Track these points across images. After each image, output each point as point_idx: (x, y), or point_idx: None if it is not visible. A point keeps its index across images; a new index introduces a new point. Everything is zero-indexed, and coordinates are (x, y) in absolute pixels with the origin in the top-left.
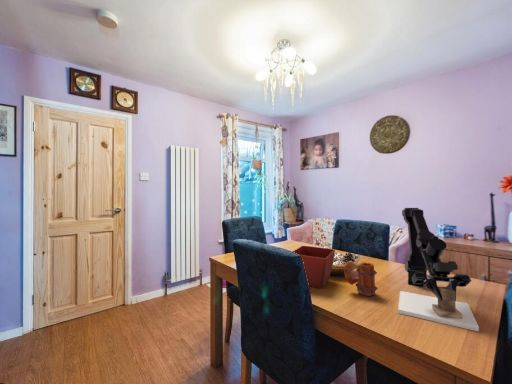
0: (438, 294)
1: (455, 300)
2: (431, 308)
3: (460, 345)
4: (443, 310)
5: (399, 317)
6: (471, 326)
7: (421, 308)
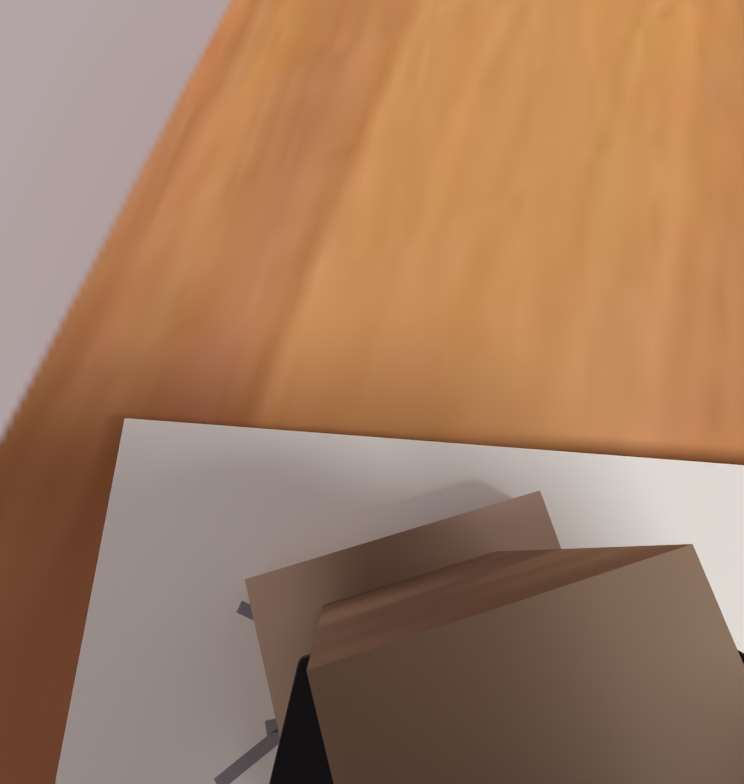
0: None
1: (310, 654)
2: None
3: (385, 105)
4: (491, 554)
5: None
6: (198, 425)
7: None
